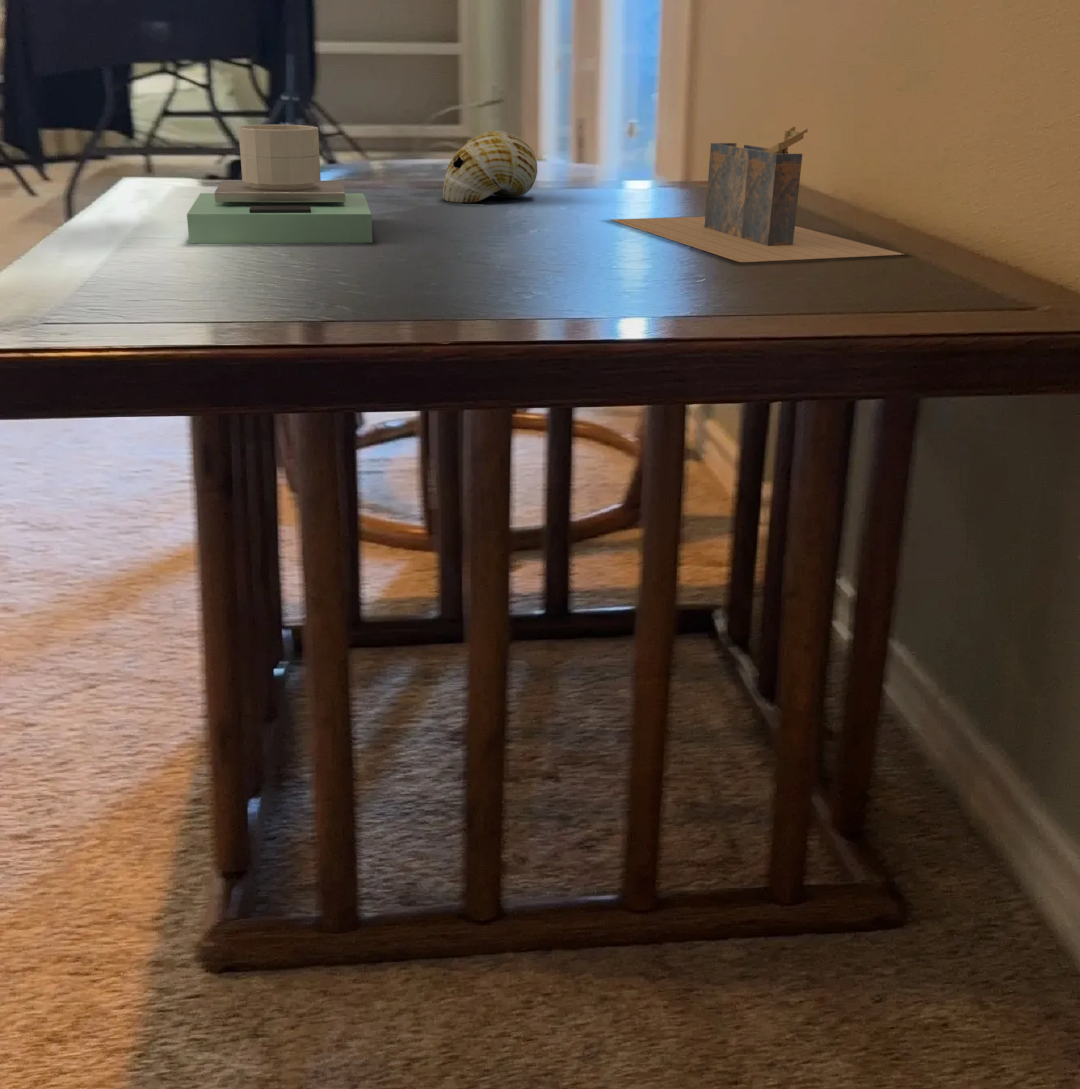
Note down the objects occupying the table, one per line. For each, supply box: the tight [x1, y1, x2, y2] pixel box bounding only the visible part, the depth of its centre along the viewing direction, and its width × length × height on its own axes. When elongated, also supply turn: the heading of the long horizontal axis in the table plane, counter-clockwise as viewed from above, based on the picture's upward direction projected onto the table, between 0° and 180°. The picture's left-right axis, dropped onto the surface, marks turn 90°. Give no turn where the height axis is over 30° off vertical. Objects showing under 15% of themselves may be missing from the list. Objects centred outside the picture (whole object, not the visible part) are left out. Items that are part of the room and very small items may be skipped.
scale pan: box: [213, 180, 346, 202], centre depth 105 cm, size 11×9×1 cm
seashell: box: [442, 130, 538, 204], centre depth 128 cm, size 10×10×10 cm
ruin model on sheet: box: [611, 126, 905, 263], centre depth 106 cm, size 25×16×10 cm, turn 22°
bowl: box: [238, 124, 322, 190], centre depth 104 cm, size 7×7×5 cm
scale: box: [186, 192, 373, 245], centre depth 104 cm, size 15×14×3 cm
